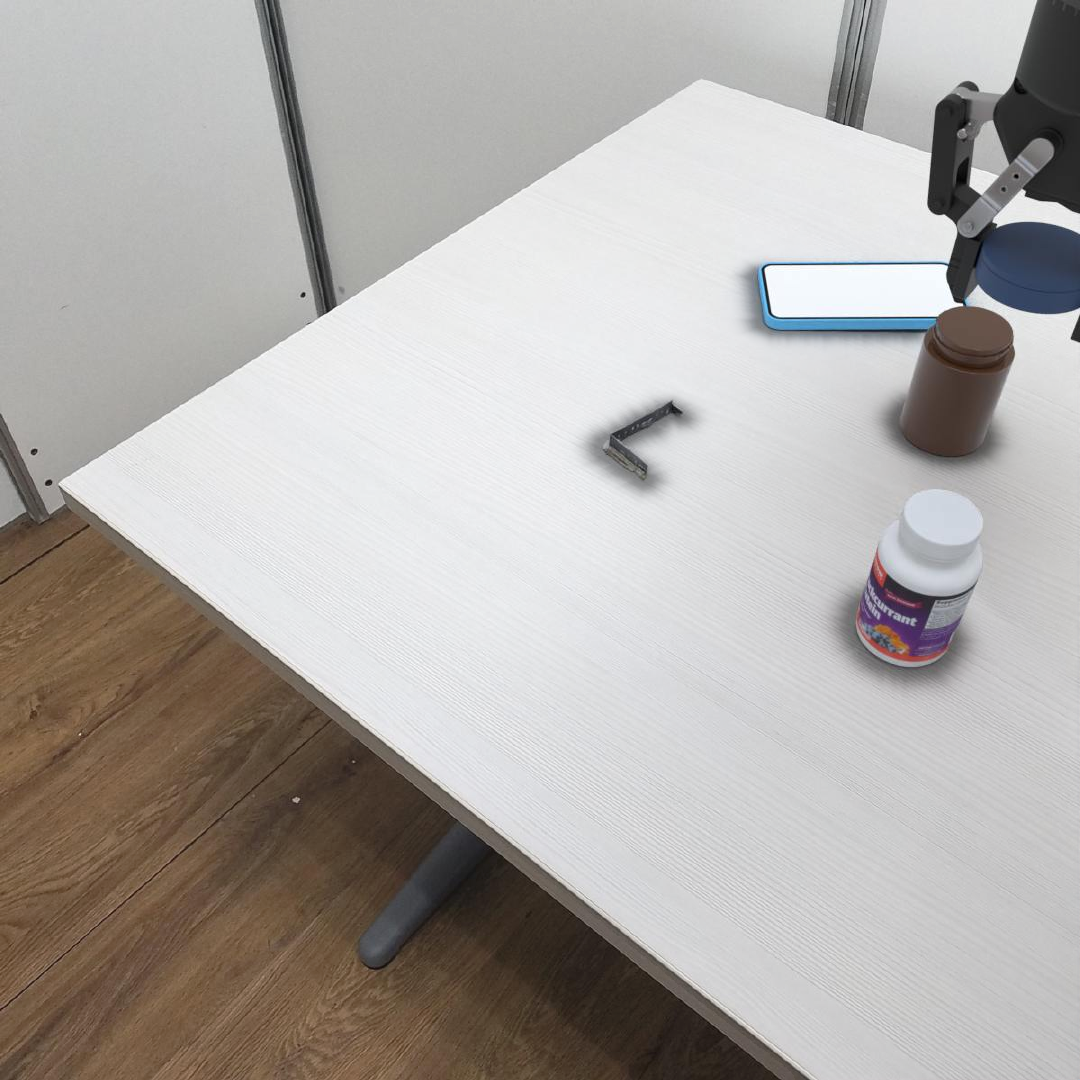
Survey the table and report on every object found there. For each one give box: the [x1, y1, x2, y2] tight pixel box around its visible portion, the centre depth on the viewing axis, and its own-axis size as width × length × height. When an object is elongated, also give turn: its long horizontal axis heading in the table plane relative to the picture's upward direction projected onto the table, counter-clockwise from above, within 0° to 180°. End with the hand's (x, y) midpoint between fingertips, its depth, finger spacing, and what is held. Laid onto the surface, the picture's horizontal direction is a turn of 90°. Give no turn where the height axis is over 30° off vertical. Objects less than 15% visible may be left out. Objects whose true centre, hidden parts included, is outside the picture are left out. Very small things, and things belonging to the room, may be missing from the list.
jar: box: [899, 305, 1016, 457], centre depth 75 cm, size 6×6×8 cm
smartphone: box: [757, 260, 970, 331], centre depth 87 cm, size 8×1×15 cm
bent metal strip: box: [602, 399, 684, 480], centre depth 77 cm, size 7×1×5 cm
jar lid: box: [975, 221, 1080, 315], centre depth 58 cm, size 6×6×2 cm
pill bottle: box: [855, 488, 984, 668], centre depth 62 cm, size 5×5×10 cm
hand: (1023, 311), depth 60 cm, fingers closed on jar lid, 5 cm apart
